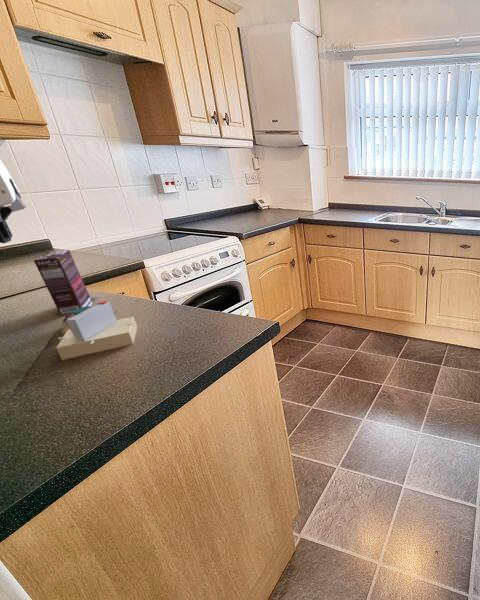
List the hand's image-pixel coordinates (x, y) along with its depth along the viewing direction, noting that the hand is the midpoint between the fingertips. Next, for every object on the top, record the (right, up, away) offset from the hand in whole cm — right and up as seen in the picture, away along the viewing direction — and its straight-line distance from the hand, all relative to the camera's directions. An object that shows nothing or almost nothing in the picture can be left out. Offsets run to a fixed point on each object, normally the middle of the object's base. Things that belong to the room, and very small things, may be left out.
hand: (3, 241), depth 67 cm
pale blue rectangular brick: (+13, -18, +7) cm, 23 cm away
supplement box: (-8, -15, +24) cm, 29 cm away
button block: (+3, -18, +15) cm, 24 cm away
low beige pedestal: (+13, -21, +8) cm, 26 cm away
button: (+3, -15, +14) cm, 21 cm away
